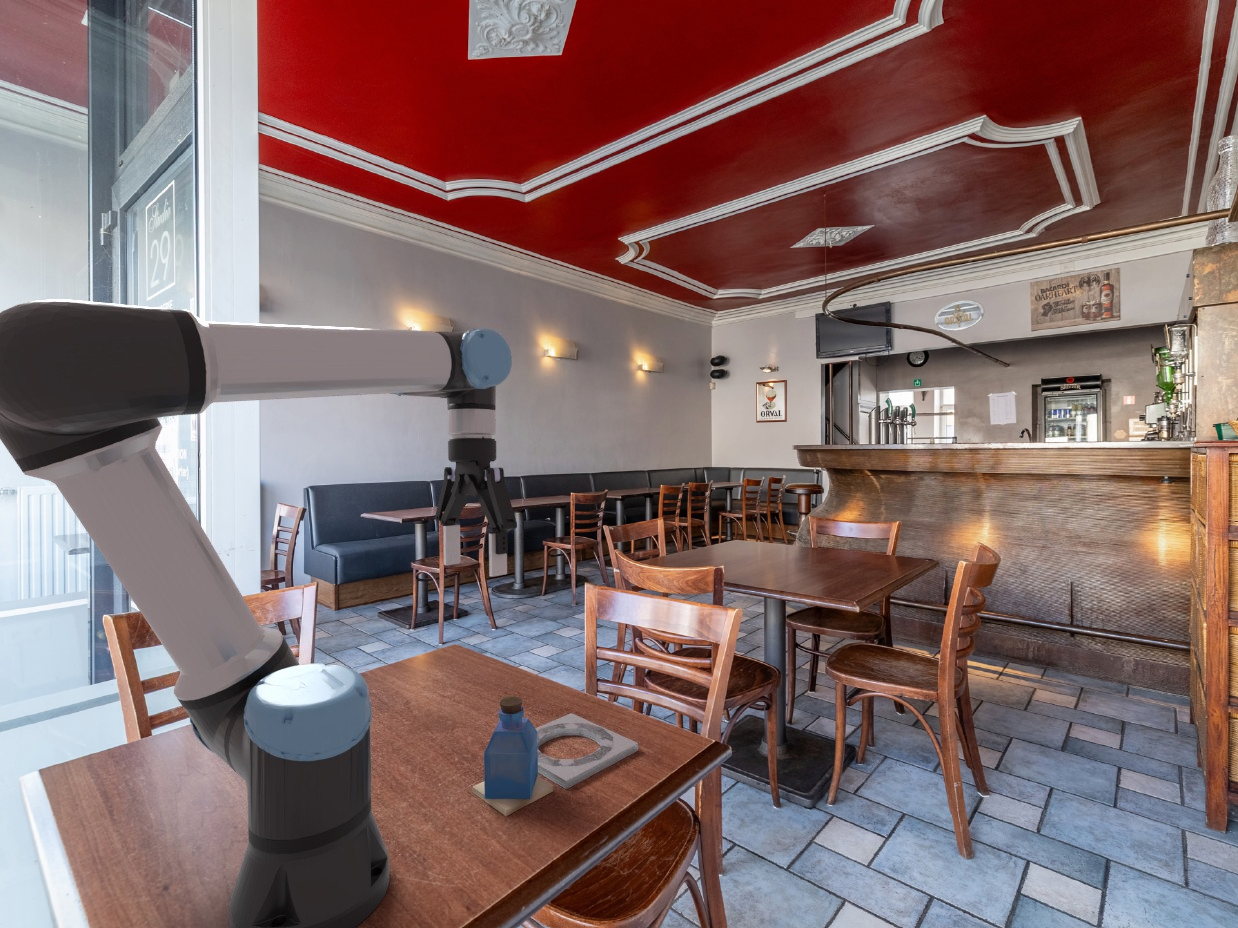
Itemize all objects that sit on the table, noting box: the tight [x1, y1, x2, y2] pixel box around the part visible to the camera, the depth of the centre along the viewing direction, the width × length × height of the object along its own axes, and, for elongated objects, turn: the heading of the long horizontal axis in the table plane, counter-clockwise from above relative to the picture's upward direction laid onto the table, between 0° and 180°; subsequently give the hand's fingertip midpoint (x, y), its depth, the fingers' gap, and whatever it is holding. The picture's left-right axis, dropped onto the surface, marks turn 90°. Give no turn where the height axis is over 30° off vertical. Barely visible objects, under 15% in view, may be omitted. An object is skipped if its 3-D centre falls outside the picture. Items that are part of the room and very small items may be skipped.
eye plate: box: [534, 712, 639, 790], centre depth 95 cm, size 15×16×1 cm
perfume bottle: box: [483, 696, 539, 799], centre depth 83 cm, size 6×6×12 cm
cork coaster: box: [471, 775, 554, 817], centre depth 83 cm, size 8×8×1 cm
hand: (474, 569), depth 96 cm, fingers open, 13 cm apart
